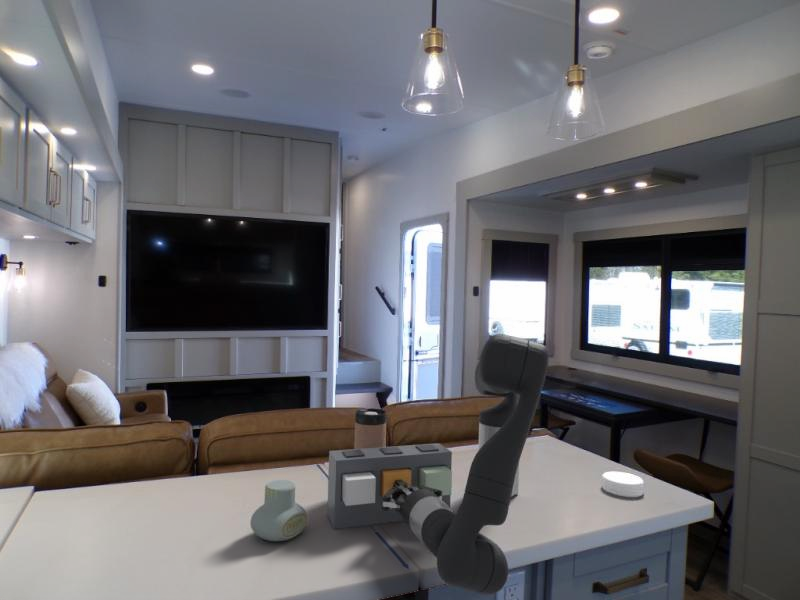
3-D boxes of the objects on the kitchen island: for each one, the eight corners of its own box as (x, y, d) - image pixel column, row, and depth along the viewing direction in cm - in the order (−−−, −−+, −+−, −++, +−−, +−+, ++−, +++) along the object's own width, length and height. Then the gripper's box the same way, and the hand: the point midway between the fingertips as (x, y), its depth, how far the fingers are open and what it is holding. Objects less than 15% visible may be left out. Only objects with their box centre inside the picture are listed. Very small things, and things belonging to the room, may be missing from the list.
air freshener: (273, 552, 95) (275, 498, 95) (242, 539, 99) (244, 488, 99) (313, 530, 104) (314, 481, 104) (283, 520, 108) (284, 473, 108)
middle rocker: (399, 483, 115) (400, 461, 115) (410, 494, 109) (411, 471, 109) (374, 485, 113) (374, 463, 113) (383, 497, 107) (384, 473, 107)
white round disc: (601, 494, 130) (601, 480, 130) (601, 481, 139) (602, 468, 139) (644, 500, 126) (645, 486, 126) (642, 487, 135) (642, 474, 135)
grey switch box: (437, 503, 120) (439, 441, 120) (449, 515, 113) (451, 450, 113) (327, 515, 111) (329, 449, 111) (334, 529, 105) (336, 459, 105)
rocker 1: (365, 490, 111) (366, 467, 111) (375, 502, 104) (375, 478, 104) (338, 492, 109) (339, 469, 109) (346, 505, 102) (346, 480, 102)
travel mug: (380, 501, 120) (382, 416, 120) (348, 498, 121) (351, 413, 121) (387, 489, 127) (389, 409, 127) (357, 486, 129) (360, 407, 129)
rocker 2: (438, 483, 116) (438, 461, 116) (451, 494, 110) (452, 471, 110) (413, 485, 114) (414, 463, 114) (425, 497, 108) (426, 473, 108)
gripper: (463, 493, 94) (427, 464, 110) (395, 501, 89) (368, 469, 106) (462, 534, 94) (426, 499, 110) (393, 544, 89) (367, 505, 106)
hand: (397, 484), depth 108 cm, fingers closed
